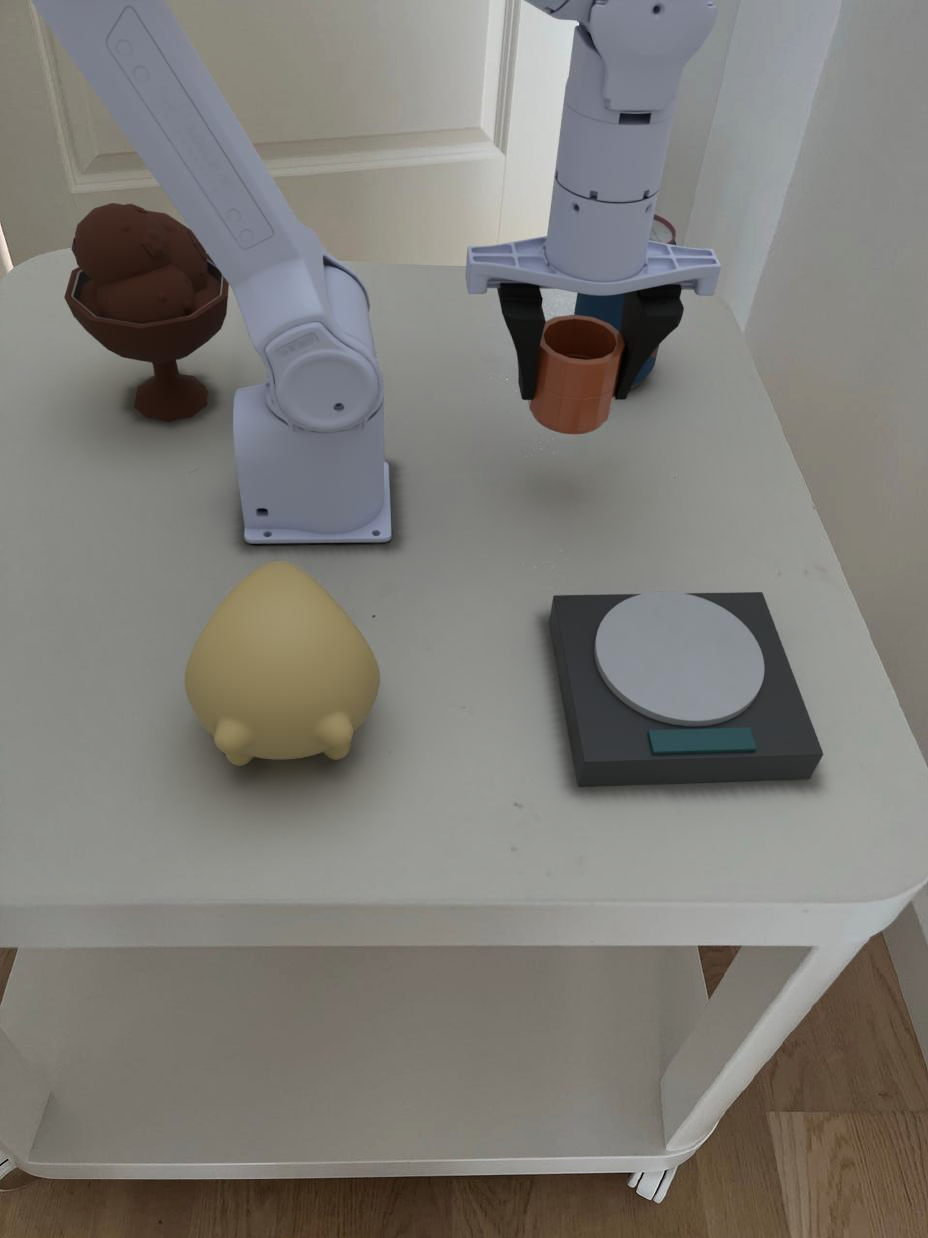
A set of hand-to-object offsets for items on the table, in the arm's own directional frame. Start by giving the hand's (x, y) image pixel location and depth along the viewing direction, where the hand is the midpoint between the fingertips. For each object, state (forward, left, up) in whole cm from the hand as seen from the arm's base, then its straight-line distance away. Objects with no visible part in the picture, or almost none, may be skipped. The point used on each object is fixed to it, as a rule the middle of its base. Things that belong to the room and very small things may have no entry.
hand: (572, 390), depth 64 cm
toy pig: (-18, -19, -9) cm, 28 cm away
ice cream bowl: (-28, +11, -9) cm, 31 cm away
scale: (+4, -18, -8) cm, 21 cm away
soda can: (+6, +15, -9) cm, 18 cm away
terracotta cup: (0, 0, -2) cm, 2 cm away
